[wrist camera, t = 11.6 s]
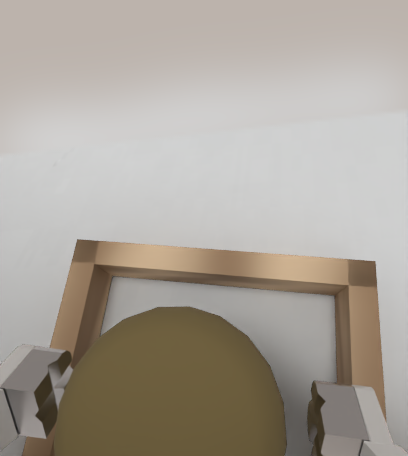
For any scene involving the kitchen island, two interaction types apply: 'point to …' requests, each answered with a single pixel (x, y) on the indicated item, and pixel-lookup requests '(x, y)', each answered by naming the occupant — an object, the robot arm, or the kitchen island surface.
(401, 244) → the kitchen island surface
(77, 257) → the bay
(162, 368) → the cork
